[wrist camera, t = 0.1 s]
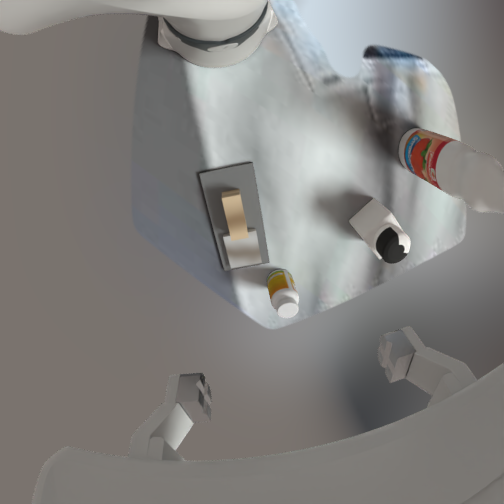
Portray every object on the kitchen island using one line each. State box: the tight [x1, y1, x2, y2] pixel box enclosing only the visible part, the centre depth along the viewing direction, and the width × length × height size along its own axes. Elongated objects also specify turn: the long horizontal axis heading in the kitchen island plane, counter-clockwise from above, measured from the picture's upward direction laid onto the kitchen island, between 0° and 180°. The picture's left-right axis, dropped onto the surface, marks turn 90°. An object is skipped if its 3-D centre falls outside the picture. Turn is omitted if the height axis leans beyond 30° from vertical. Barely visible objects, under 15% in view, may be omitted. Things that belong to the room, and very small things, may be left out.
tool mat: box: [199, 162, 269, 271], centre depth 50 cm, size 20×9×1 cm, turn 10°
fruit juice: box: [399, 128, 504, 214], centre depth 33 cm, size 9×9×28 cm
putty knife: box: [222, 189, 262, 268], centre depth 49 cm, size 15×6×3 cm, turn 10°
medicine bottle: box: [349, 198, 410, 263], centre depth 47 cm, size 7×7×12 cm
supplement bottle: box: [267, 269, 299, 318], centre depth 54 cm, size 5×5×10 cm
